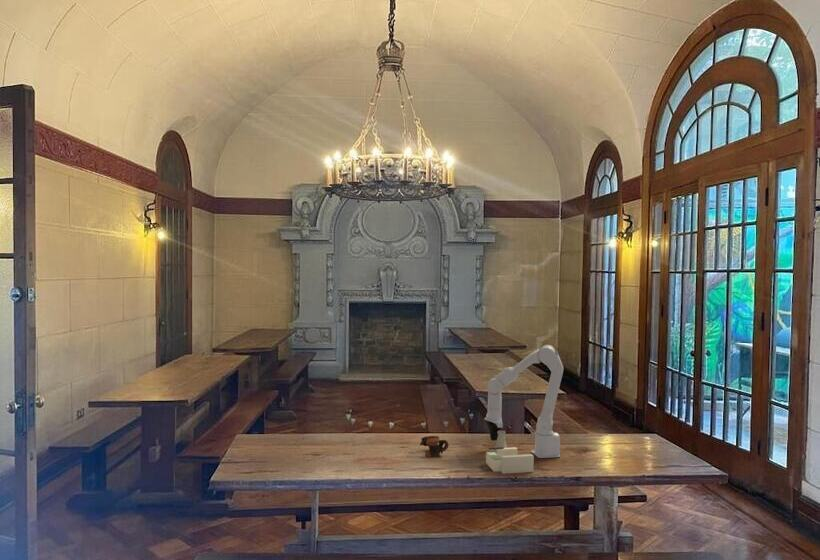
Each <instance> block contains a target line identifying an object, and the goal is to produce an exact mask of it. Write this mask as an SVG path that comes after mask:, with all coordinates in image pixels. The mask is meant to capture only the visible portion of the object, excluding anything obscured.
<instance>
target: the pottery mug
mask: <svg viewBox="0 0 820 560" xmlns="http://www.w3.org/2000/svg"><path fill="white" fill-rule="evenodd" d="M449 445H450V444H449V442H448V441H447V440H446V439H441V440H440V436H438V435H427V436H424V437H421V441H420V444H419V447H421V446H423V447H428V449H429V450H426V451H424V454H425V457H426V458H429V457H430V458H431V457H440V455H441V454H443V453H444V451H445V452H446V450H448V448H449Z"/></svg>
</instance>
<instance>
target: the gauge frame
mask: <svg viewBox="0 0 820 560" xmlns="http://www.w3.org/2000/svg"><path fill="white" fill-rule="evenodd" d="M485 453H486V454H485V464H486V465H487V467H489V468H490V469H491V470H492V471H493V472H494V473H495V472H501V474H503V475H504V474H505V475H506V474H521V473H534V465H535V462H534V460H535V459H534V458H535V457H534V456H535V455H534V454H533V453H529V454H517V455H507V456H501V457H500V456H499V455H498V454H496V453H495V452H494V450H489V451H486V452H485Z"/></svg>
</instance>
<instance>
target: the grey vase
mask: <svg viewBox="0 0 820 560" xmlns="http://www.w3.org/2000/svg"><path fill="white" fill-rule="evenodd" d="M497 433H498V438H497V440H496V443H495V446H494V447H504V448H508V446H507V442H506V437H505V436H506V435H505V434H506V431H505V430H500V431H497ZM493 451H494V452H495V453H496V454H497V449H493Z"/></svg>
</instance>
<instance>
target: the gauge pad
mask: <svg viewBox="0 0 820 560" xmlns="http://www.w3.org/2000/svg"><path fill="white" fill-rule="evenodd" d="M494 449H497V454H498V455H499V456H500V457H501V456H507V455H519V453H518V450H519V449H518V448H517V447H516V446H515V447H507V448H504V447H495V446H494V447H488V450H489V451H493V450H494Z"/></svg>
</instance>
